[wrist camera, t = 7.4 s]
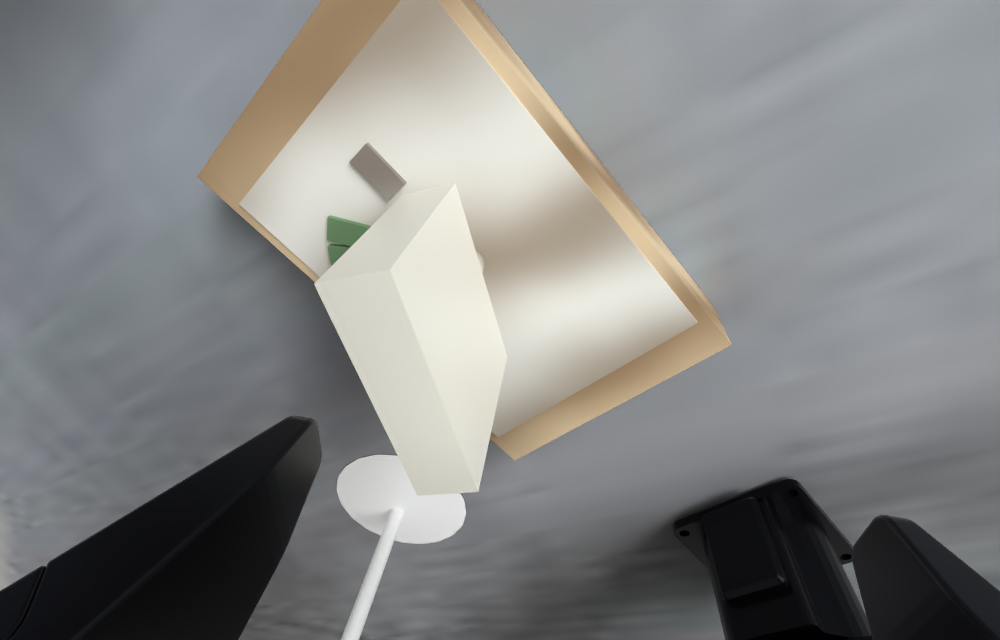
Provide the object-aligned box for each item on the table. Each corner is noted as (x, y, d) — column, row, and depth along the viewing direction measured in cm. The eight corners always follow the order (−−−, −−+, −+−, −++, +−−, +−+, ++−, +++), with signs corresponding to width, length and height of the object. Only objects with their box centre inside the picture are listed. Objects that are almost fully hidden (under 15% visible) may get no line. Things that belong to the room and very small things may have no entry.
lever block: (714, 308, 19) (734, 349, 17) (520, 420, 23) (513, 465, 21) (415, -75, 14) (382, -94, 12) (240, 158, 18) (190, 179, 16)
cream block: (464, 170, 15) (389, 269, 9) (511, 335, 18) (478, 491, 12) (298, 209, 16) (141, 316, 10) (367, 356, 19) (273, 504, 13)
